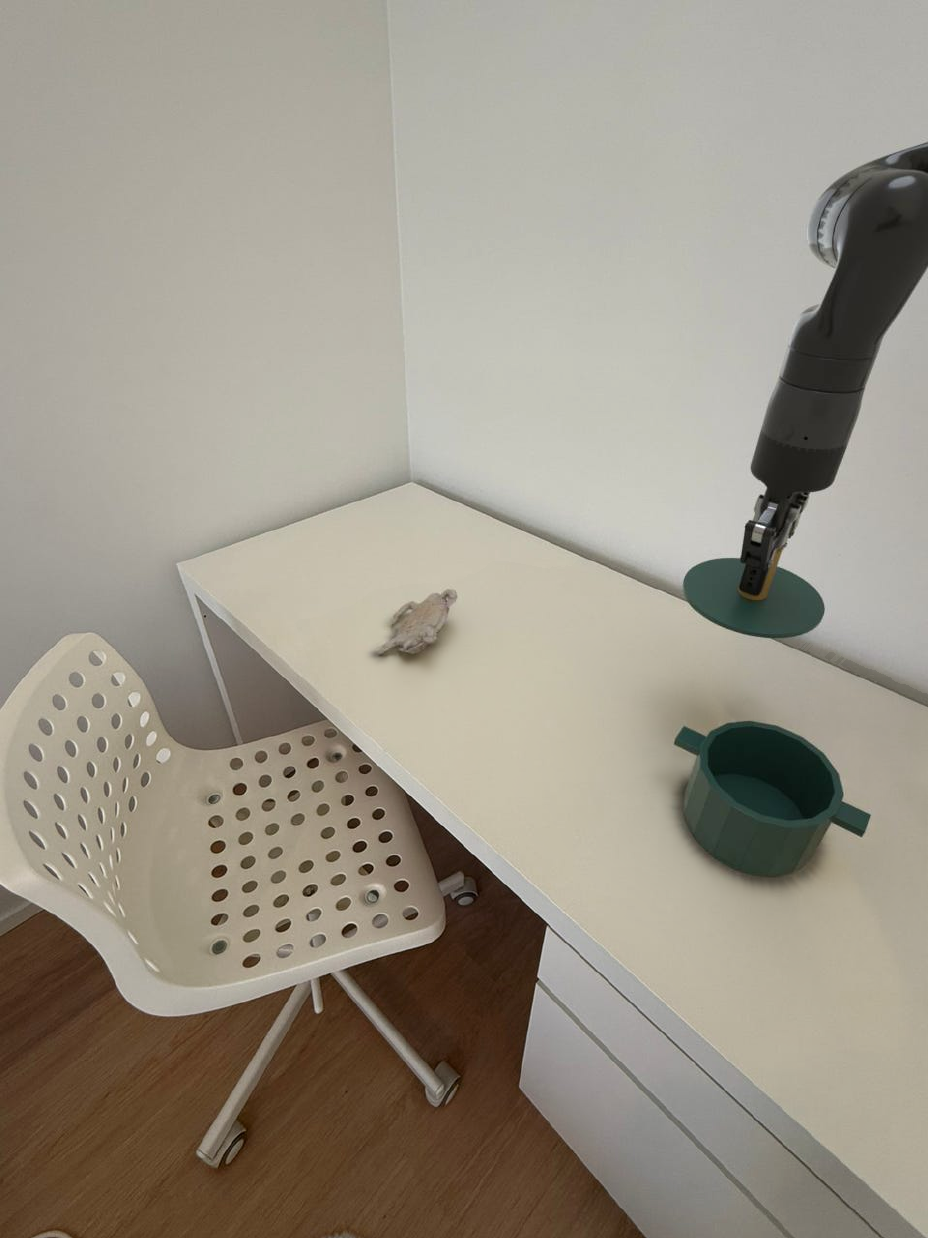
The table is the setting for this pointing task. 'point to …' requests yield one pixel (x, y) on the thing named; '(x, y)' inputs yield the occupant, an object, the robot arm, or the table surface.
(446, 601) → the turtle
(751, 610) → the lid
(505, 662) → the table surface
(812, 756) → the green cooking pot
